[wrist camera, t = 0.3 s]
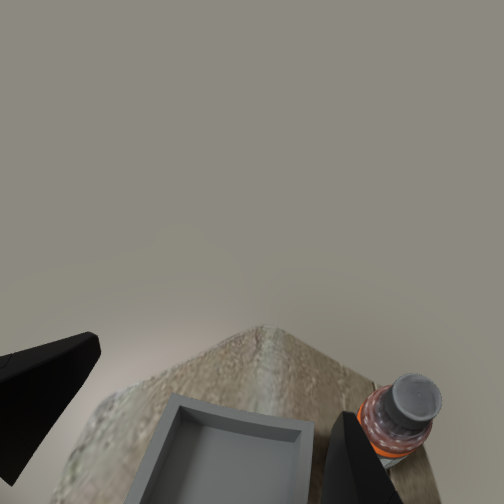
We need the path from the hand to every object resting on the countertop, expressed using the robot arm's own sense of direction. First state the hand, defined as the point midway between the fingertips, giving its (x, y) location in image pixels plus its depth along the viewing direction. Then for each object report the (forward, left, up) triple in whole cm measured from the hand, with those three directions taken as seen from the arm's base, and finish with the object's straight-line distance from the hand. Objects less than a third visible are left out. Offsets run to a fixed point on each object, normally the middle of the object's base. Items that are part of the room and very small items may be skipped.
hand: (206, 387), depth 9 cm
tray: (+1, -1, -17) cm, 17 cm away
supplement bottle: (+5, -12, -17) cm, 21 cm away
